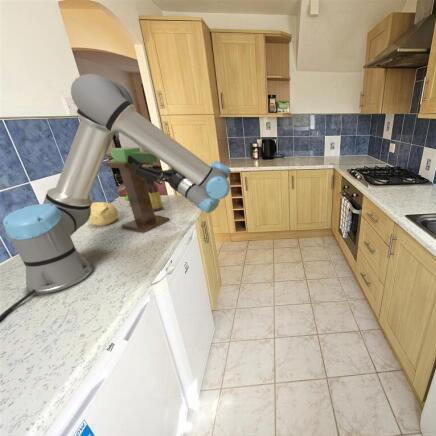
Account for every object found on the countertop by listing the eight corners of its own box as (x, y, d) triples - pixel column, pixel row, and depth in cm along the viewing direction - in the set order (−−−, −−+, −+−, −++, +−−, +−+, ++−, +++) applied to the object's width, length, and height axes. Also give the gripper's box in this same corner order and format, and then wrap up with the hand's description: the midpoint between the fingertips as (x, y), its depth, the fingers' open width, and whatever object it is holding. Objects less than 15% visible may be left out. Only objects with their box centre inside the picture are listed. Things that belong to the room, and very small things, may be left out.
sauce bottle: (152, 208, 135) (142, 173, 127) (164, 206, 137) (155, 172, 129) (149, 212, 129) (139, 175, 122) (162, 210, 131) (153, 174, 123)
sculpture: (83, 227, 113) (75, 206, 109) (106, 217, 124) (98, 197, 120) (104, 228, 111) (96, 207, 107) (125, 218, 122) (118, 198, 118)
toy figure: (146, 163, 95) (142, 150, 93) (107, 161, 103) (104, 149, 101) (160, 160, 101) (158, 148, 99) (123, 158, 109) (120, 146, 107)
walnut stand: (144, 232, 107) (123, 164, 95) (122, 227, 112) (100, 162, 100) (169, 220, 119) (154, 158, 107) (149, 216, 124) (132, 157, 112)
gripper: (155, 201, 88) (113, 169, 90) (203, 184, 109) (167, 158, 111) (159, 185, 84) (114, 152, 86) (207, 170, 105) (170, 144, 107)
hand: (144, 155), depth 99 cm, fingers open, 13 cm apart
